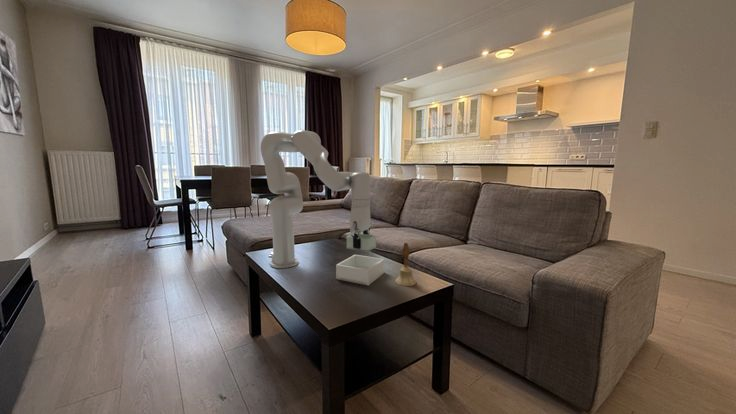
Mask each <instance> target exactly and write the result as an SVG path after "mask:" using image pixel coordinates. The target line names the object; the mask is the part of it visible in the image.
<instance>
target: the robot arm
mask: <svg viewBox="0 0 736 414" xmlns="http://www.w3.org/2000/svg"><path fill="white" fill-rule="evenodd" d="M260 153H261V157H262V160H263V163H264V170H265V176H266V181H267V182H266V183H267V186H268V189H269V191H270V192H271V193H272V194H276V195H277V194H278V195H280V194H284V195H282V196H278V197H275V198H272V199H271V201H270V202H269V205H268V211H269V216H270V220H271V231H272V252H270V253H269V255H268V259H271V261H270V262H269V263H270V267H272V268H274V269H286V268H292V267H295V266H298V264H299V260H298V258H295V257H296V256H295V253H296V252H295V231H294V223H293V220H292V218H291V216H295V215H298V214H300V213H301V212H302V210H303V208H304V200H303V193H302V189H301V188H302V187H301V183H300V182H301V181H300V180H299V177H298V176H297V175H296V174H295V173H293V172H290V171H286V167H285V163H284V159H283V157H282V156H281V155H280V153H300V154H301V155H302V156H303V157H304V158H305V159H306V160H308V162H309V163H310V164H311V165H312V166H313V170H314V172H315V174H316V176H317V178H318V179H319V180H320V181H321V182H322V183H323V184H324V185H325V186H326V187H327V188H329V189H330V190H331V191H334V192H341V191H347V190H348V191H349V190H351V193H350V195H351V208H350V215H349V216H350V218H349V233H350V235H352V238H353V248H357V249H360V248H361V239H359V238H360V234H368V235H371V232H370V231H371V226H372V223H371V222H372V221H371V220H372V219H371V208H370V207H371V175H370V174H369V172H359V171H357V172H356V171H355V172H351V171H338V170H336V169H335V168H334V167H333V165H331V163H330V162H329V161H328V156H329V152H328V150H327V149H326V148H325V147H324V146H323V145H322V141H321V138H320V136H319V134H318V133H317V132H315V131H310V130H306V129H305V130H304V129H299V130H296V131H295V132H293V133H288V132H282V131H281V132H280V131H271V132H269V133H267V134H264V136H263V138H261V142H260ZM356 233H358V235H357V234H356Z"/></svg>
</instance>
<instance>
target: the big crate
mask: <svg viewBox="0 0 736 414" xmlns="http://www.w3.org/2000/svg"><path fill="white" fill-rule="evenodd" d="M385 262H386V261H385V258H379V257H373V256H367V255H361V254H353V255H352V256H350V257H348V258H346V259H344V260H342V261H340V262H339V263H337V264H336V265H335V273H336V274H335V276H336V277H335V279H336V280H339V281H345V282H349V283H354V284H360V285H363V286H364V285H365V286H370V285H371V284H372V283H373V282H375V281H377V280H378V278H380V277H381V276H382V275H383V274H385V269H386V267H385V266H386V264H385Z"/></svg>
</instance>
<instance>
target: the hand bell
mask: <svg viewBox="0 0 736 414" xmlns="http://www.w3.org/2000/svg"><path fill="white" fill-rule="evenodd" d="M409 255H410V247H409V244H408V242H404V244H403V246H402V256H403V267H400V270H399V275H398V276H397V278H396V279H395V282H394V283H396V285H399V286H402V287H412V286H414V285H416V284H417V280H416V279H415V278H414V276H413V270H412V268H410V267H409Z"/></svg>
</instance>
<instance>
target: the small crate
mask: <svg viewBox="0 0 736 414" xmlns="http://www.w3.org/2000/svg"><path fill="white" fill-rule="evenodd" d="M356 234H357V235H358V233H356ZM359 239H361V248H360V249H357V248H353V238H352V235H351V234H349V235H347V236H346V249H348V250H355V251H363V252H370V251H372V250H373V249H376V247H377V235H376V234H363V233H361V234H360V238H359Z"/></svg>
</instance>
